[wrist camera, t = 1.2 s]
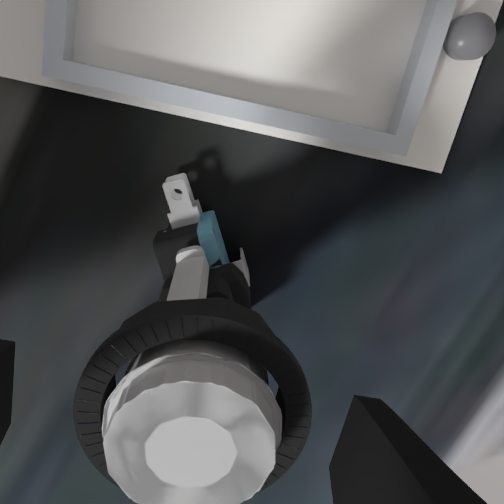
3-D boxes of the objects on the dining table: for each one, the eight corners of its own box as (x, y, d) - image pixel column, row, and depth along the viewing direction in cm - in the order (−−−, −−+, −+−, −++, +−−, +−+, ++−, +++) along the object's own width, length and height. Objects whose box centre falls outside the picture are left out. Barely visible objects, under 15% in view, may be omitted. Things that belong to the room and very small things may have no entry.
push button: (110, 190, 18) (-19, 319, 9) (248, 152, 18) (270, 244, 8) (166, 338, 20) (112, 568, 11) (288, 308, 20) (340, 515, 11)
